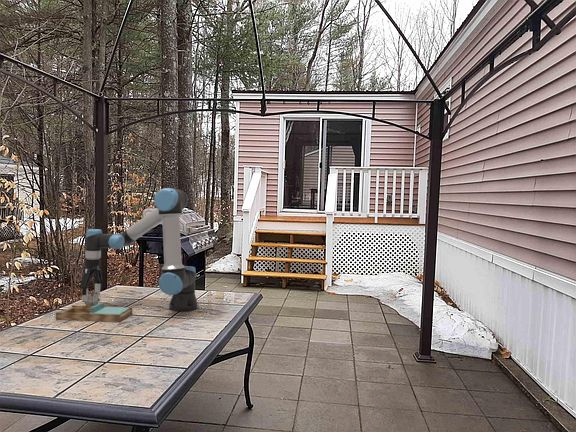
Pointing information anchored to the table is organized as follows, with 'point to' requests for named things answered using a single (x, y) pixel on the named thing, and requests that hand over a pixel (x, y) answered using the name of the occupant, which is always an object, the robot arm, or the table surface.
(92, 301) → the game die
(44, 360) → the table surface
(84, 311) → the board
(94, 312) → the cover
